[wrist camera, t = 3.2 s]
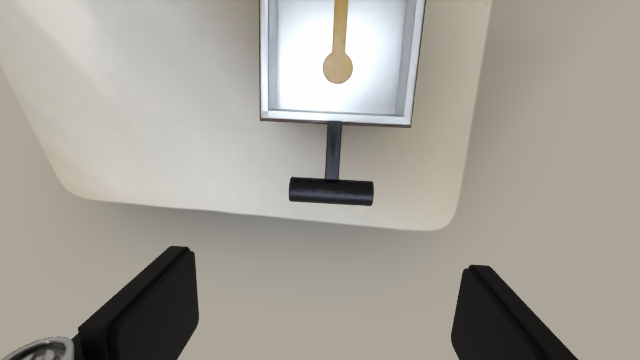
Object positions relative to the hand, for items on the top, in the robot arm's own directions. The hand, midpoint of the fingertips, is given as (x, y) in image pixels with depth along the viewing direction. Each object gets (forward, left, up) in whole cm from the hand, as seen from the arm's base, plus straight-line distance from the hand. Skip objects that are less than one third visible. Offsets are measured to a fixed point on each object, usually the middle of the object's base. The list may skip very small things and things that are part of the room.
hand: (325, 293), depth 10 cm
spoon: (+6, -9, -17) cm, 20 cm away
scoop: (+5, -7, -17) cm, 19 cm away
